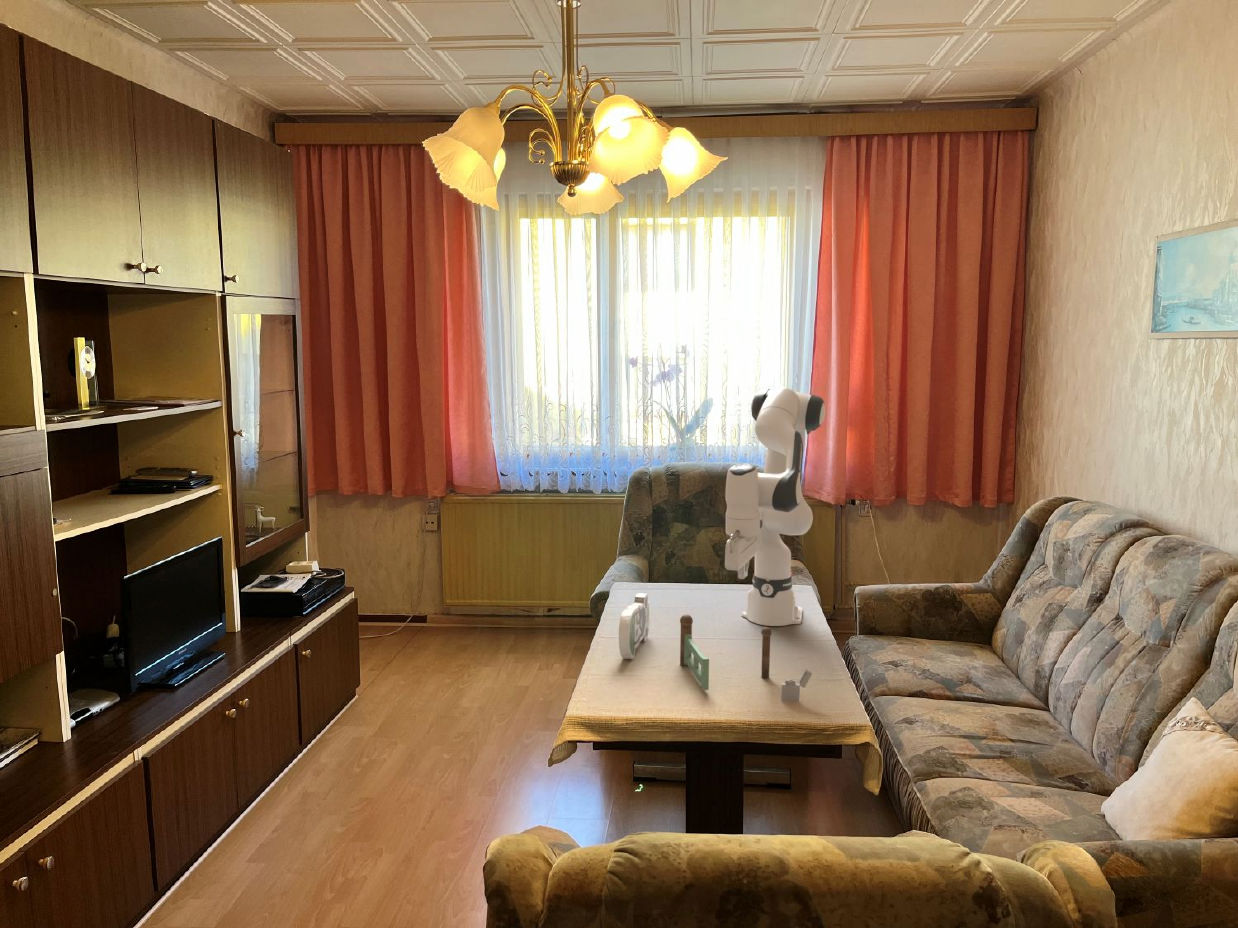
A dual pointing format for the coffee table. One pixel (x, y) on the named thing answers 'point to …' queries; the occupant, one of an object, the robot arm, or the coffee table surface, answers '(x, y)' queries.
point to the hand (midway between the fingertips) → (742, 577)
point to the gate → (696, 661)
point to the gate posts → (766, 632)
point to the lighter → (794, 688)
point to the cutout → (634, 626)
